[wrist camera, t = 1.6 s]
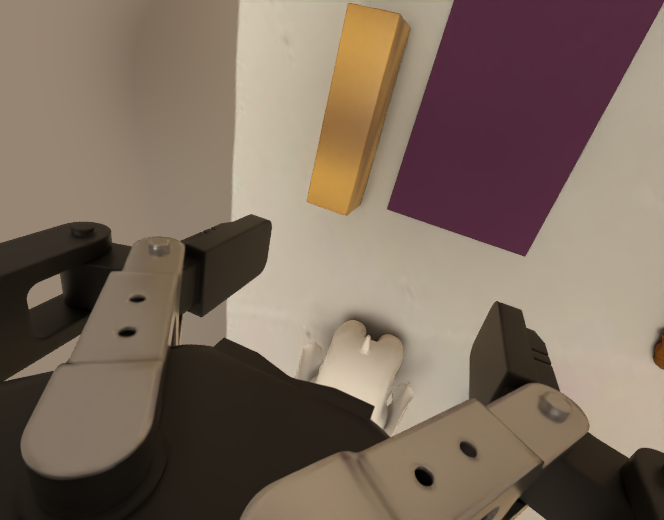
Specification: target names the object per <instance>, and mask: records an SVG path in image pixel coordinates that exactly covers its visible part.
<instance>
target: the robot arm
mask: <svg viewBox="0 0 664 520" xmlns="http://www.w3.org/2000/svg"><path fill="white" fill-rule="evenodd" d="M271 230H272V224H271V221H269V220H267V219H264V218H261V217H258V216H255V215H252V214H250V215H248V216H245V217H243V218H241V219H239V220H236V221H234V222H229V223H221V224H219V225H217V226H214V227H212V228H211V229H207V230H205V231H203V233H202V232H200V233H198V234H196V235H193V236H191V237H188V238H186V239H184V240H181V241H178V240H176V239H173V238H168V237H148V238H143V239H140V240H138V241H136V242H135V243H134V244H133V246H132V247H131V246H126V245H121V244H116V243H112V238H111V230H110V228H108V227H107V226H105V225H103V224H99V223H94V222H73V223H67V224H64V225H60V226H57V227H53V228H50V229H46V230H43V231H40V232H36V233H33V234H30V235H26V236H23V237H19V238H16V239H13V240H9V241H6V242H3V243H0V520H514V519H515V518H516V517H517V516H518V515H519V514H521V513H522V512H523V511H524V510H525V509H526V508H527V507H528V506H529V507H531V508H532V509H533V510H535V511H536V512H537V513H538V514H540V515H541V516H542V517H544V518H545V519H546V520H664V453H662V452H660V451H657V450H654V449H650V448H640V449H638V450H637V451H636V452H635V453H634V454H633V455H632V456H631V457H630V458H628V457H626V456H624V455H623V454H621V453H620V452H618V451H616V450H615V449H613V448H611V447H610V446H608V445H607V444H605V443H603V442H602V441H600V440H599V439H597V438H596V437H594V436H593V435H591V434H590V433H589V432H588V431H589V421H588V419H587V417H586V415H585V414H584V412H583V411H582V410H581V409H580V407H579V406H578V405H577V404H576V403H575V402H574V401H572V400H571V399H570V398H569V397H567V396H566V395H564V394H563V393H561V392H560V390H559V387H558V384H557V380H556V377H555V374H554V371H553V368H552V366H551V362H550V358H549V357H548V352H547V349H546V346H545V343H544V342H543V341H542V339H541V338H540V337H539V336H538V335H537V334H536V332H535V331H533V330H530V329H528V328H526V325H525V321H524V317H523V313H522V310H520V309H517V308H515V307H512V306H509V305H506V304H503V303H500V302H498V301H496V302H495V303H494V304H493V305H492V307H491V309H490V311H489V313H488V315H487V317H486V319H485V321H484V323H483V325H482V327H481V329H480V331H479V333H478V335H477V337H476V339H475V341H474V344H473V346H472V350H471V354H470V381H469V400H467V401H465V402H463V403H461V404H459V405H456V406H454V407H452V408H450V409H448V410H446V411H444V412H442V413H440V414H438V415H436V416H434V417H432V418H430V419H428V420H426V421H423V422H421V423H419V424H417V425H415V426H413V427H411V428H409V429H407V430H405V431H403V432H401V433H399V434H397V435H395V436H393V437H390V436H389V435H388V434H387V433H386V432H385V431H384V430H383V429H382V428H381V427H380V426H378V425H377V424H376V423H375V422H374V421H372V420H371V416H372V413H373V410H374V407H375V406H374V405H371V404H369V403H367V402H365V401H363V400H360V399H358V398H356V397H354V396H352V395H349V394H347V393H345V392H343V391H341V390H338V389H336V388H333V387H329V386H325V385H320V384H316V383H312V382H308V381H304V380H299V379H295V378H292V377H290V376H288V375H286V374H285V373H284V372H282V371H281V370H280V369H279V368H277V367H276V366H275V365H273V364H272V363H271V362H269V361H268V360H267V359H265V358H264V357H263V356H261V355H260V354H259V353H257V352H255V351H253V350H250V349H248V348H246V347H244V346H242V345H239V344H237V343H235V342H233V341H231V340H228V339H226V338H223V339H222V340H221V341H220V342H219V343H217V344H216V345H215V346H214V347H211V346H205V345H180V343H181V334H182V325H183V314H184V313H185V312H186V311H188V312H191V313H193V314H195V315H197V316H200V317H203V316H204V315H206V314H207V313H208V312H210V311H211V310H212V309H214V308H215V307H216V306H218V305H219V304H220V303H222V302H223V301H225V300H226V299H227V298H229V297H230V296H231V295H233V294H234V293H235V292H237V291H238V290H239V289H241V288H242V287H243V286H245V285H246V284H247V283H249V282H250V281H252V280H253V279H254V278H256V277H257V276H258V275H259V274H260V273H261V272H262V271H263V269H264V267H265V265H266V262H267V257H268V251H269V244H270V237H271ZM59 273H60V277H61V284H62V290H63V294H61V295H59V296H57V297H55V298H53V299H50V300H48V301H46V302H44V303H42V304H40V305H38V306H36V307H34V308H31V309H28V304H27V294H28V292H29V290H30V289H31V288H32V287H33V286H34V285H35V284H36V283H38V282H40V281H42V280H45V279H47V278H50V277H52V276H54V275H57V274H59ZM80 334H81V335H80ZM78 335H80V337H79V340H78V342H77V344H76V346H75V348H74V350H73V352H72V354H71V356H70V358H69V360H68V361H67V362H66V363H62V364H60V365H59V366H58V367H57V368H56V369H55V371H51V372H46V373H41V374H37V375H32V376H28V377H23V378H18V379H13V380H8V381H4V380H6V379H8V378H9V377H11V376H13V375H14V374H16V373H17V372H19V371H21V370H23V369H24V368H26V367H28V366H29V365H31V364H32V363H34V362H35V361H37V360H39V359H41V358H42V357H44V356H45V355H47V354H49V353H51V352H52V351H54V350H55V349H57V348H59V347H60V346H62V345H64V344H65V343H67V342H69V341H70V340H72V339H74V338H75V337H77V336H78ZM3 381H4V382H3Z"/></svg>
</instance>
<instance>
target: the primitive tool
mask: <svg viewBox="0 0 664 520" xmlns="http://www.w3.org/2000/svg"><path fill="white" fill-rule="evenodd" d="M654 361H655V364H656V365H657V366H659V367H660V368H661V369H664V334H663V335H662V342H660V343H658V344H657V345H656V348H655V356H654Z"/></svg>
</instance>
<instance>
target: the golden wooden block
mask: <svg viewBox="0 0 664 520" xmlns="http://www.w3.org/2000/svg"><path fill="white" fill-rule="evenodd" d="M409 31H410V27H409V25H408V24H407V23H406V21H405V20H404V19H403V17H402V16H401V14H399V13H394V12H390V11H385V10H380V9H376V8H371V7H366V6H361V5H357V4H352V3H348V6H347V11H346V16H345V20H344V25H343V30H342V35H341V40H340V44H339V49H338V54H337V59H336V63H335V68H334V73H333V78H332V83H331V87H330V92H329V97H328V102H327V106H326V111H325V116H324V121H323V126H322V130H321V135H320V140H319V145H318V149H317V154H316V159H315V164H314V169H313V173H312V178H311V183H310V188H309V192H308V197H307V202H309V203H311V204H314V205H317V206H320V207H323V208H325V209H328V210H331V211H334V212H337V213H339V214H342V215H345V216H347V215H348V214H349V213H350V212H352V211H353V210H354V209H355V208H357V207H358V206H359V205H360V204H361V200H362V197H363V193H364V190H365V186H366V183H367V179H368V176H369V172H370V169H371V165H372V161H373V158H374V154H375V151H376V147H377V144H378V140H379V137H380V133H381V130H382V126H383V123H384V119H385V116H386V112H387V108H388V105H389V101H390V98H391V94H392V91H393V87H394V84H395V80H396V77H397V73H398V70H399V66H400V63H401V59H402V56H403V52H404V48H405V45H406V41H407V38H408V34H409Z"/></svg>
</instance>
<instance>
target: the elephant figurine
mask: <svg viewBox="0 0 664 520" xmlns="http://www.w3.org/2000/svg"><path fill="white" fill-rule="evenodd" d="M366 334H367V331H366V328H365V326H364V325H363V324H362V323H361V322H358V321H355V320H349V321H347V322H345V323H343V324H341V325H340V327H339V328H338V329H337V330H336V332H335V333H334V336H333V339H332V342H331V345H330V347H329V350H328V352H327V354H326V356H325V359H324V361H323V351H322V348H321V347H320V346H319V345H318V344H317V342H315V343H313V344H309V345H306V346H305V347H304V348H303V351H302V356H301V359H300V363H299V366H298V369H297V373H296V376H295V379H299V380H304V381H308V382H312V383H316V384H320V385H325V386H329V387H333V388H336V389H338V390H341V391H343V392H345V393H347V394H349V395H352V396H354V397H356V398H358V399H360V400H363V401H365V402H367V403H369V404H371V405H374V406H375V407H374V410H373V413H372V416H371V420H372V421H374V422H375V423H376V424H377V425H378V426H380V427H381V428H382V429H383V430H384V431H385V432H386V433H387V434H388V435H389V436H390V437H393V435H394V432H395V430H396V428H397V426H398V424H399V422H400V420H401V418H402V416H403V414H404V412H405V411H406V409H407V407H408V405H409V403H410V401H411V400H412V398H413V392H412V390H411V388H410V386H409V382H408V384H407V383H403V384H401V385H399V386H398V387H397V388H396V389H395V390H394V391H393V393H392V398H393V400H392V402H391V404H390V405H389V406H387V405H386V400H387V398H388V397H389V395H390V394H391V392H392V389H393V386H394V377H395V375H396V373H397V371H398V369H399V367H400V365H401V363H402V360H403V346H402V343H401V341H400V339H399V338H397V337H395V336H393V335H391V334H385V335H383V336H381V337H380V338H379V339H378V342H376V341H373V340H370V338H371V337H370V336H369V335H367V336H366ZM365 336H366V337H365ZM322 363H323V364H322ZM321 364H322V366H321V369H320V371H319V367H320V365H321ZM318 373H319V374H318Z"/></svg>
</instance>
